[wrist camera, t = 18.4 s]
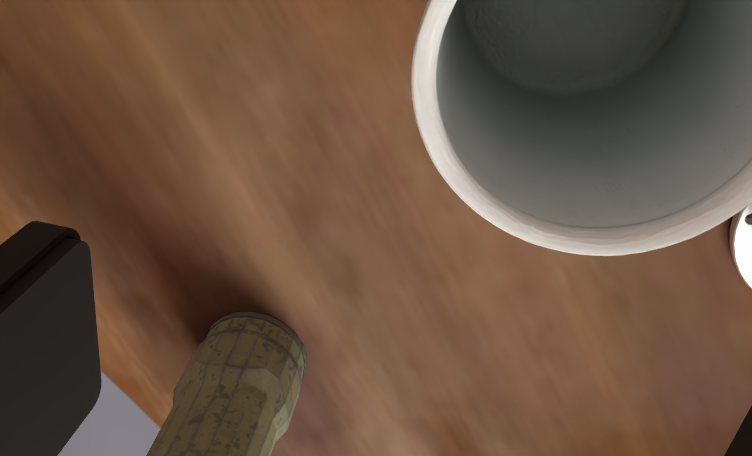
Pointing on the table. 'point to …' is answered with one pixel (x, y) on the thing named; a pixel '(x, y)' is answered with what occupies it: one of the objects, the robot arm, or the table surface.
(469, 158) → the utensil holder
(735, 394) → the table surface
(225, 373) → the thermos
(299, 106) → the table surface
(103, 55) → the table surface
